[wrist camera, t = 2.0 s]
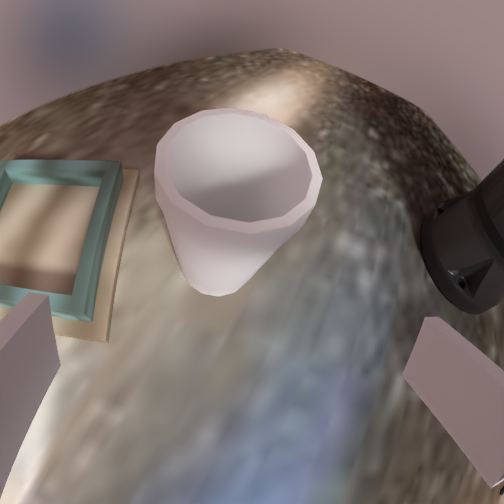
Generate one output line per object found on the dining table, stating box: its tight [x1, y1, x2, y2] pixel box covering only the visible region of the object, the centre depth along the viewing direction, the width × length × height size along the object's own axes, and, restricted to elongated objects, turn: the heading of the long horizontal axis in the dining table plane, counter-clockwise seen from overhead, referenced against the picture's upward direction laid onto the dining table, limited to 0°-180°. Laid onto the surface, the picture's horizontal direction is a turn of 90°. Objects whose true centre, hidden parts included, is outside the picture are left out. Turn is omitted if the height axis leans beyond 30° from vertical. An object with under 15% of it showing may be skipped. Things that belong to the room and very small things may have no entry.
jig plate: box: [0, 160, 139, 343], centre depth 24 cm, size 17×17×4 cm
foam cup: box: [154, 108, 322, 296], centre depth 23 cm, size 10×9×13 cm
